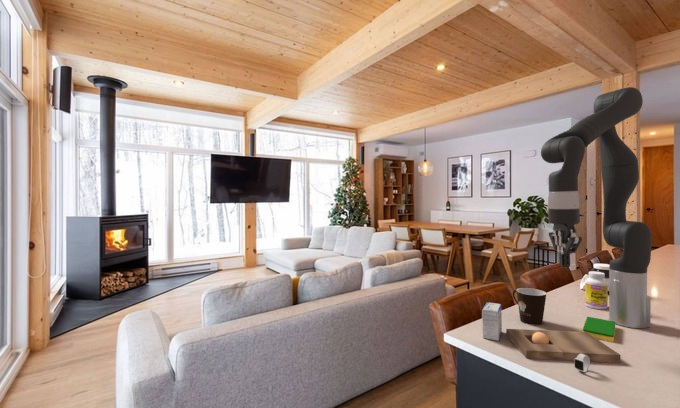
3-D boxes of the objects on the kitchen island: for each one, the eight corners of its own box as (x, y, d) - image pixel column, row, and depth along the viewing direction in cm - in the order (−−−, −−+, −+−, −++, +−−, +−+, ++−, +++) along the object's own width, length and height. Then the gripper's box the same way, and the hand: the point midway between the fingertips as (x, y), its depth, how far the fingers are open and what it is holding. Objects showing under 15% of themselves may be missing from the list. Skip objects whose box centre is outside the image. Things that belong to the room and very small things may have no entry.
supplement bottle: (588, 308, 121) (588, 273, 120) (582, 303, 127) (582, 270, 127) (610, 310, 118) (610, 275, 118) (603, 305, 124) (604, 271, 124)
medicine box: (498, 341, 95) (498, 311, 94) (482, 338, 97) (482, 309, 97) (501, 331, 101) (501, 303, 101) (486, 328, 104) (486, 301, 104)
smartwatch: (581, 367, 80) (581, 350, 80) (592, 371, 78) (592, 354, 78) (573, 371, 78) (573, 354, 78) (584, 375, 76) (583, 358, 76)
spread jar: (622, 295, 136) (622, 267, 136) (594, 295, 136) (595, 267, 136) (599, 287, 148) (600, 261, 148) (574, 287, 148) (574, 262, 148)
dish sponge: (582, 337, 98) (582, 329, 98) (587, 323, 108) (587, 316, 108) (613, 344, 93) (613, 335, 93) (615, 329, 103) (615, 321, 103)
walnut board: (586, 338, 96) (586, 331, 96) (620, 362, 82) (620, 354, 82) (506, 335, 99) (506, 328, 99) (526, 358, 85) (526, 350, 85)
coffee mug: (551, 327, 104) (551, 296, 104) (521, 325, 106) (521, 294, 106) (536, 314, 116) (536, 286, 115) (510, 313, 117) (510, 285, 117)
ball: (526, 337, 93) (538, 346, 93) (532, 344, 89) (545, 353, 89) (535, 326, 93) (547, 335, 92) (542, 333, 89) (555, 342, 88)
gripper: (592, 207, 88) (593, 271, 89) (564, 205, 101) (565, 261, 102) (562, 208, 89) (564, 272, 89) (538, 206, 102) (539, 262, 103)
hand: (564, 266), depth 96 cm, fingers closed
